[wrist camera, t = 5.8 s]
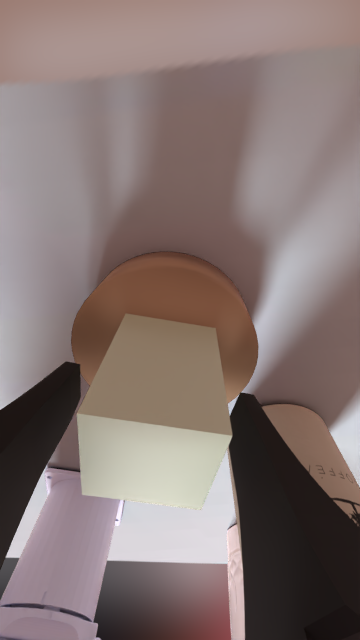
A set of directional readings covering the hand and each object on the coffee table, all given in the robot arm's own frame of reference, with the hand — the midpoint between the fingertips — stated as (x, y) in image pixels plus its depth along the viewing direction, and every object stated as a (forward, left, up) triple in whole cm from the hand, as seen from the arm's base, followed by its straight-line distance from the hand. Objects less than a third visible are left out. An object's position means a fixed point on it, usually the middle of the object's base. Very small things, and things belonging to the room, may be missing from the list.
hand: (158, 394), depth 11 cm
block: (0, 0, -3) cm, 3 cm away
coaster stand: (0, 0, -6) cm, 6 cm away
